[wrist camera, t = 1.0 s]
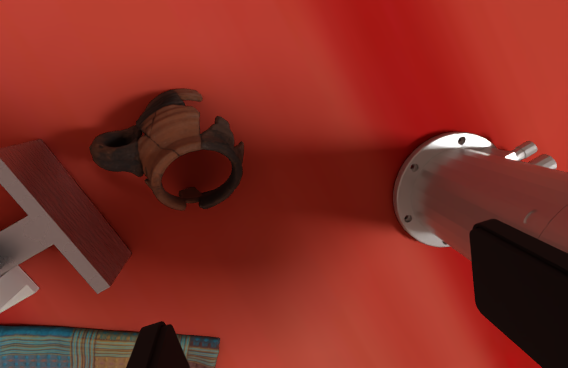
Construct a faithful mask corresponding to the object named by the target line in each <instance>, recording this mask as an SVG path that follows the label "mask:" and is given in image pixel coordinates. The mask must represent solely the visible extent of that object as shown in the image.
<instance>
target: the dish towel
mask: <svg viewBox="0 0 568 368" xmlns="http://www.w3.org/2000/svg"><path fill="white" fill-rule="evenodd" d="M138 335H139V332H123V331H106V330H97V329H85V328H69V327H55V326H52V327H46V326H1V325H0V368H126V366H127V364H128V361H129V358H130V356H131V353H132V351H133V348H134V345H135V343H136V340H137V338H138ZM176 335H177V338H178V340H179V342H180V345H181V347H182V349H183V352H184V354H185V356H186V359H187V361H188V364H189V366H190V368H215V365H216V360H217V356H218V354H219V343H220V338H216V337H206V336H194V335H180V334H176Z"/></svg>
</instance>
